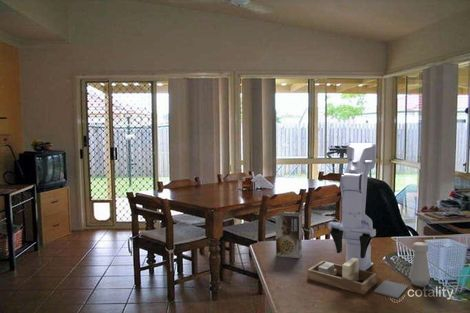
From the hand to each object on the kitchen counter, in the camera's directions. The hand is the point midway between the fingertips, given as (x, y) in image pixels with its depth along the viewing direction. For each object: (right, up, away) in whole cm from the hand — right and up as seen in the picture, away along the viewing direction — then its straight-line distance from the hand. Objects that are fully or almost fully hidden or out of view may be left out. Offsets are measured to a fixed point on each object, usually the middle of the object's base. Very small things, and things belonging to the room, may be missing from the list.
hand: (350, 254), depth 122 cm
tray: (-2, -9, +3) cm, 10 cm away
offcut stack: (-6, -9, +6) cm, 12 cm away
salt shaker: (+21, -9, 0) cm, 23 cm away
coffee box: (-16, -7, +27) cm, 32 cm away
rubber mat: (+11, -10, -4) cm, 15 cm away
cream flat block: (0, -9, +1) cm, 9 cm away
